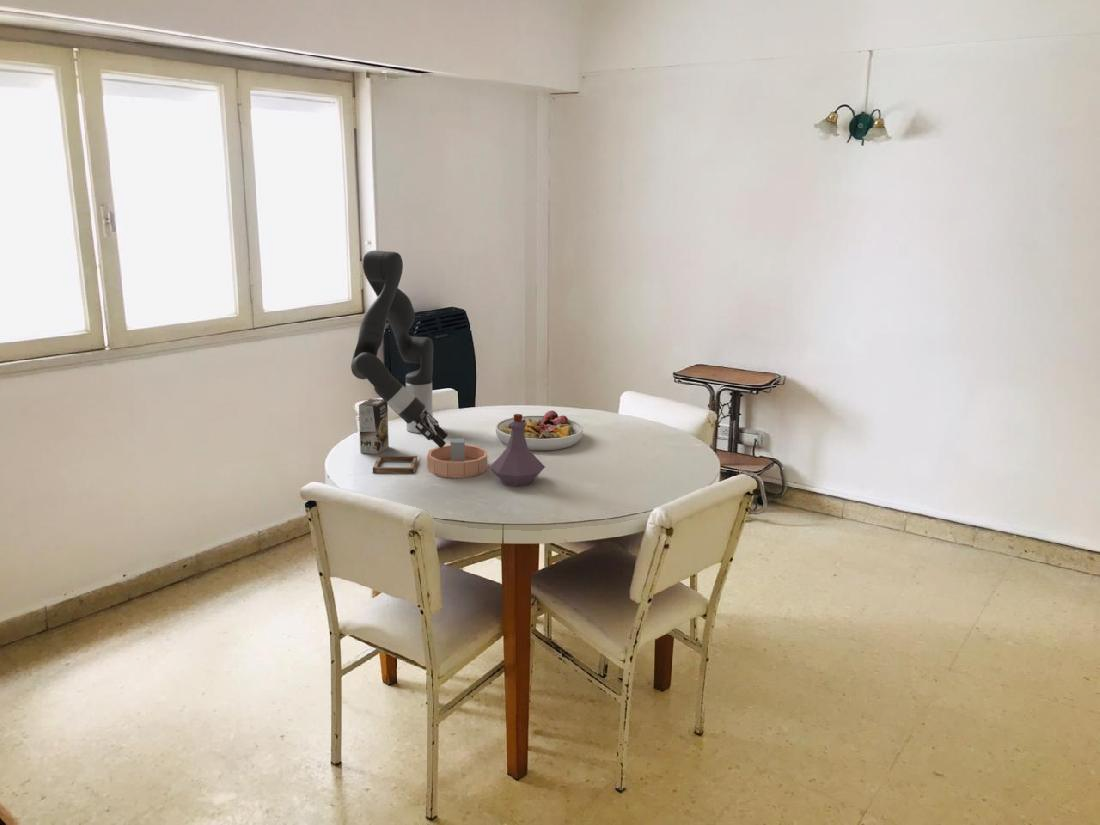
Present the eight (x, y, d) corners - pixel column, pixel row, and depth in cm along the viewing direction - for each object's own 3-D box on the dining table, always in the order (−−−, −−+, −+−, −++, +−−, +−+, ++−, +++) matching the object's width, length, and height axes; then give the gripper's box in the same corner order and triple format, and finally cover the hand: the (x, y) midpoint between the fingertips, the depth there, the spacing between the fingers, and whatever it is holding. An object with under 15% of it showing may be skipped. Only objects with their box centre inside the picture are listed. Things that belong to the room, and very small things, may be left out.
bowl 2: (567, 458, 258) (567, 434, 256) (481, 447, 267) (481, 424, 265) (592, 434, 286) (593, 412, 284) (514, 425, 295) (514, 404, 293)
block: (451, 463, 247) (451, 438, 245) (464, 463, 247) (464, 438, 245) (450, 467, 243) (450, 442, 241) (463, 467, 243) (463, 442, 241)
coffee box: (378, 454, 256) (376, 405, 252) (359, 453, 257) (357, 404, 253) (389, 446, 264) (388, 399, 260) (371, 445, 266) (369, 397, 262)
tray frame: (378, 460, 250) (378, 455, 250) (417, 460, 251) (417, 456, 251) (372, 473, 239) (372, 468, 238) (413, 473, 239) (413, 468, 239)
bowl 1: (431, 458, 253) (430, 444, 252) (488, 459, 254) (488, 444, 253) (425, 477, 236) (425, 462, 235) (486, 478, 237) (486, 462, 236)
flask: (477, 481, 234) (477, 415, 229) (515, 468, 247) (516, 405, 241) (518, 494, 224) (519, 426, 219) (556, 480, 236) (558, 415, 231)
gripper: (412, 401, 232) (452, 439, 235) (417, 390, 245) (454, 426, 249) (394, 419, 233) (434, 457, 236) (399, 407, 246) (437, 442, 250)
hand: (444, 441), depth 243 cm, fingers open, 8 cm apart
